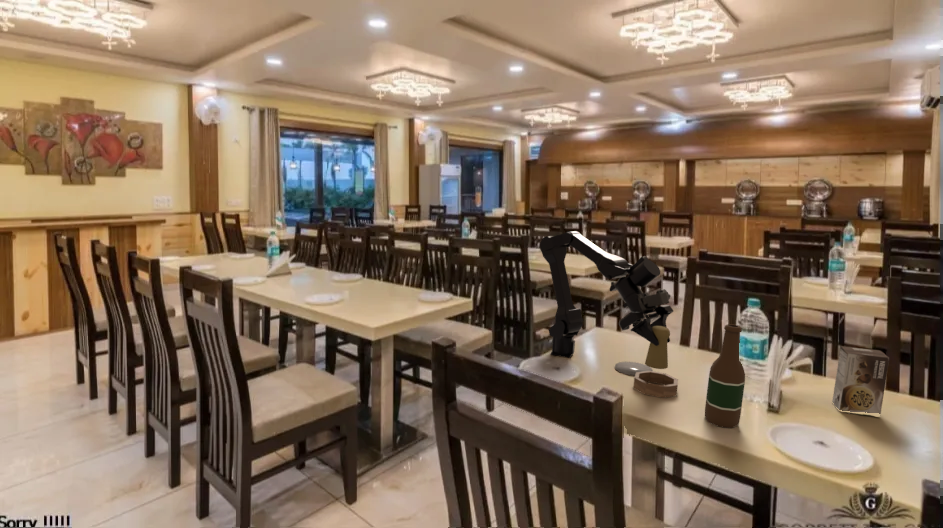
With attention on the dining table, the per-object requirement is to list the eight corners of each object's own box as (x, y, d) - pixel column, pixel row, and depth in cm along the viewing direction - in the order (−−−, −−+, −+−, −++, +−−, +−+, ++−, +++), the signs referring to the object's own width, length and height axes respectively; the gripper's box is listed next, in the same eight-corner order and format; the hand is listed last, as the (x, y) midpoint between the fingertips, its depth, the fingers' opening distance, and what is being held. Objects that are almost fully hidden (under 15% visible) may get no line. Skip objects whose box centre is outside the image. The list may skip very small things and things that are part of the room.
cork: (671, 369, 142) (675, 330, 141) (648, 368, 142) (653, 329, 141) (663, 361, 148) (667, 324, 147) (642, 360, 148) (646, 323, 147)
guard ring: (632, 392, 143) (633, 381, 142) (636, 378, 153) (636, 368, 153) (676, 400, 139) (677, 389, 138) (677, 385, 149) (678, 375, 148)
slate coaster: (612, 372, 157) (612, 370, 157) (617, 361, 167) (617, 359, 167) (651, 378, 153) (651, 376, 153) (653, 367, 163) (653, 365, 163)
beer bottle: (737, 432, 122) (750, 332, 118) (701, 422, 126) (713, 326, 122) (740, 419, 128) (753, 325, 125) (706, 411, 132) (717, 319, 129)
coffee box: (870, 408, 139) (881, 350, 136) (880, 418, 133) (891, 357, 130) (830, 402, 141) (839, 345, 139) (838, 412, 135) (848, 352, 133)
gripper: (632, 283, 139) (666, 334, 132) (671, 277, 150) (703, 324, 144) (605, 305, 146) (635, 354, 140) (644, 298, 158) (673, 343, 151)
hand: (663, 343), depth 143 cm, fingers closed on cork, 5 cm apart
